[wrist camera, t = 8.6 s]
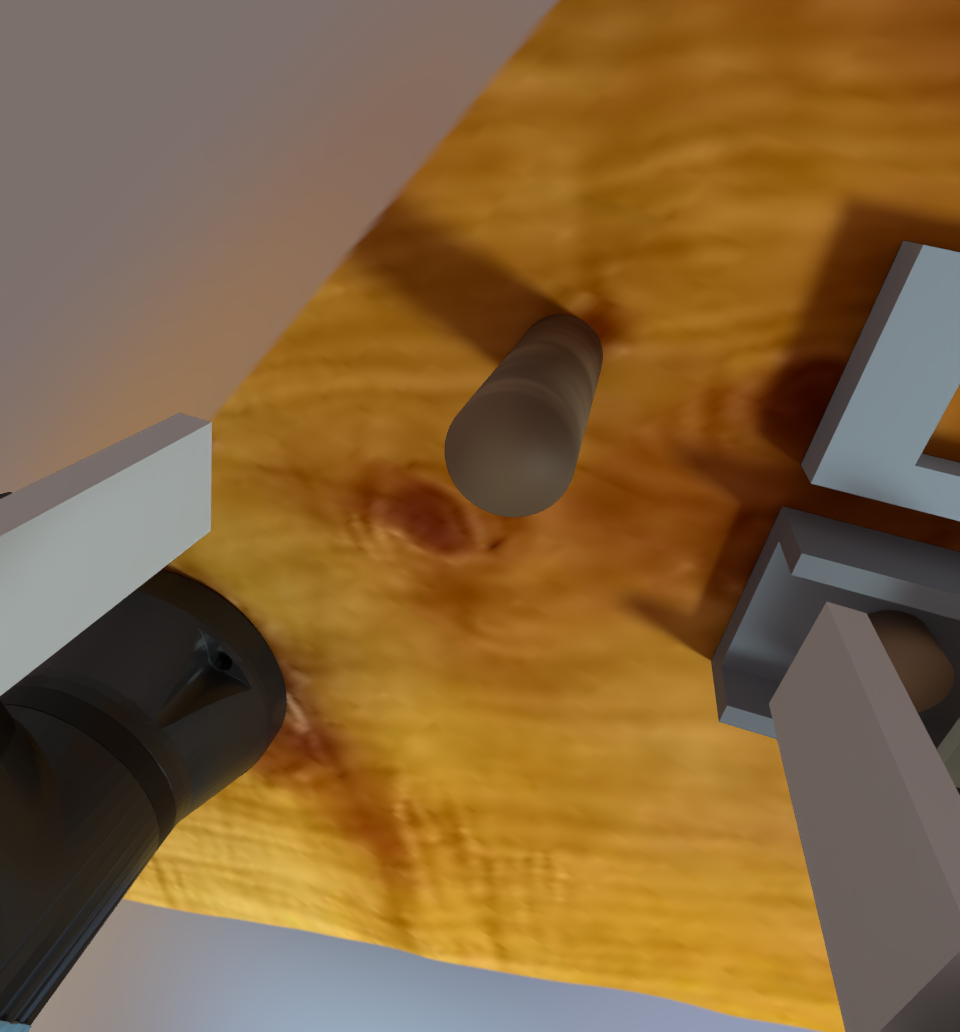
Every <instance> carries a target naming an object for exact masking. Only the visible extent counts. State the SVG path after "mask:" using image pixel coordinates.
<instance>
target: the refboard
mask: <svg viewBox="0 0 960 1032" xmlns="http://www.w3.org/2000/svg"><path fill="white" fill-rule="evenodd" d="M826 602H830V603H833V604H837V605H840V606H843V607H847V608H850V609H854V610H857V611H861V612H864V613H867V615H868V617H869V619H870V621H871V623H872V625H873V627H874V629H875V631H876V633H877V635H878V637H879V639H880V641H881V643H882V644H883V646H884V648H885V650H886V652H887V654H888V656H889V658H890V660H891V662H892V664H893V666H894V668H895V670H896V672H897V674H898V676H899V678H900V680H901V682H902V683H903V685H904V687H905V689H906V691H907V693H908V695H909V697H910V699H911V701H912V703H913V705H914V707H915V709H916V711H917V713H918V715H919V717H920V719H921V721H922V722H923V724H924V726H925V728H926V730H927V732H928V734H929V736H930V738H931V740H932V742H933V744H934V746H935V748H936V749H937V748H938V746H939V745H940V744H941V742H942V741H943V740H944V738H945V737H946V736H947V734H948V733H949V731H950V730H951V729H952V727H953V726H954V725H955V723H956V722H957V720H958V719H959V718H960V552H958V551H954V550H950V549H946V548H942V547H938V546H934V545H931V544H927V543H923V542H919V541H915V540H911V539H907V538H904V537H900V536H896V535H892V534H888V533H884V532H880V531H877V530H873V529H869V528H865V527H861V526H857V525H853V524H850V523H846V522H842V521H838V520H834V519H830V518H826V517H823V516H819V515H815V514H811V513H807V512H803V511H799V510H795V509H792V508H788V507H784V506H782V507H781V510H780V512H779V514H778V516H777V518H776V521H775V523H774V525H773V527H772V529H771V532H770V534H769V536H768V538H767V540H766V543H765V545H764V547H763V549H762V551H761V553H760V556H759V558H758V560H757V562H756V564H755V567H754V569H753V571H752V573H751V575H750V578H749V580H748V582H747V584H746V586H745V589H744V591H743V593H742V595H741V597H740V600H739V602H738V604H737V606H736V608H735V610H734V613H733V615H732V617H731V619H730V621H729V624H728V626H727V628H726V630H725V632H724V635H723V637H722V639H721V641H720V643H719V646H718V648H717V650H716V652H715V654H714V657H713V659H712V661H711V664H712V672H713V679H714V687H715V695H716V702H717V710H718V718H719V722H721V723H725V724H728V725H731V726H735V727H738V728H742V729H745V730H748V731H752V732H755V733H758V734H762V735H765V736H768V737H772V738H775V739H777V736H776V732H775V728H774V723H773V719H772V715H771V711H770V706H769V703H770V701H771V699H772V697H773V696H774V694H775V692H776V690H777V689H778V687H779V685H780V683H781V681H782V680H783V678H784V676H785V674H786V673H787V671H788V669H789V667H790V666H791V664H792V662H793V660H794V658H795V657H796V655H797V653H798V651H799V650H800V648H801V646H802V644H803V643H804V641H805V639H806V637H807V635H808V634H809V632H810V630H811V628H812V627H813V625H814V623H815V621H816V620H817V618H818V616H819V614H820V612H821V611H822V609H823V607H824V605H825V604H826Z"/></svg>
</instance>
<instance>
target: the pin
mask: <svg viewBox="0 0 960 1032" xmlns="http://www.w3.org/2000/svg"><path fill="white" fill-rule="evenodd" d="M602 361H603V352H602V346H601V343H600V340H599V338H598V336H597V334H596V333H595V332H594V330H593V329H592V328H591V327H590V326H589V325H588V324H587V323H585V322H584V321H582V320H581V319H578V318H576V317H573V316H570V315H552V316H548V317H546V318H543V319H541V320H539V321H538V322H536V323H535V324H534V325H533V326H532V327H531V328H530V329H529V330H528V331H527V332H526V333H525V335H524V336H523V337H522V338H521V339H520V341H519V342H518V343H517V344H516V345H515V346H514V348H513V349H512V350H511V351H510V352H509V354H508V355H507V356H506V357H505V358H504V360H503V361H502V362H501V363H500V364H499V366H498V367H497V368H496V369H495V370H494V371H493V373H492V374H491V375H490V376H489V377H488V379H487V380H486V381H485V382H484V383H483V385H482V386H481V387H480V388H479V389H478V390H477V392H476V393H475V394H474V395H473V396H472V398H471V399H470V400H469V401H468V402H467V404H466V405H465V406H464V407H463V408H462V410H461V411H460V412H459V413H458V414H457V416H456V417H455V418H454V420H453V422H452V423H451V425H450V428H449V430H448V433H447V436H446V441H445V460H446V465H447V468H448V472H449V474H450V476H451V479H452V481H453V482H454V484H455V485H456V487H457V488H458V490H459V491H460V492H461V493H462V494H463V495H464V496H465V497H466V498H467V499H468V500H469V501H470V502H472V503H473V504H474V505H476V506H477V507H479V508H481V509H483V510H485V511H487V512H490V513H493V514H496V515H500V516H506V517H522V516H529V515H532V514H536V513H538V512H541V511H543V510H545V509H547V508H548V507H550V506H551V505H553V504H554V503H555V502H556V501H557V500H558V499H559V498H560V497H561V496H562V495H563V494H564V492H565V491H566V490H567V488H568V486H569V484H570V482H571V480H572V477H573V474H574V470H575V466H576V462H577V459H578V455H579V451H580V447H581V443H582V439H583V436H584V432H585V428H586V424H587V420H588V416H589V413H590V409H591V405H592V401H593V397H594V394H595V390H596V386H597V382H598V378H599V374H600V371H601V367H602Z"/></svg>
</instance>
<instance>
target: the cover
mask: <svg viewBox="0 0 960 1032" xmlns="http://www.w3.org/2000/svg"><path fill="white" fill-rule="evenodd" d="M936 750H937V752H938V754H939V756H940V758H941V760H942V761H943V763H944V765H945V767H946V769H947V771H948V773H949V775H950V777H951V779H952V781H953V783H954V785H955V787H958V788H960V718H959V719H958V720H957V722H956V723H955V725H954V726H953V727H952V729H951V730H950V731H949V733H948V734H947V736H946V737H945V738H944V740H943V741H942V742H941V744H940V745H939V746H938V748H937V749H936Z"/></svg>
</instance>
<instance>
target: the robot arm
mask: <svg viewBox="0 0 960 1032" xmlns="http://www.w3.org/2000/svg"><path fill="white" fill-rule="evenodd" d="M211 446H212V422H209V421H206V420H202V419H199V418H196V417H192V416H188V415H185V414H182V413H178V414H176V415H174V416H172V417H170V418H168V419H165V420H163V421H161V422H159V423H157V424H155V425H153V426H151V427H149V428H147V429H145V430H143V431H141V432H139V433H136V434H134V435H132V436H130V437H128V438H126V439H124V440H122V441H120V442H118V443H116V444H114V445H112V446H110V447H108V448H105V449H103V450H101V451H99V452H97V453H95V454H93V455H91V456H89V457H87V458H85V459H82V460H80V461H78V462H76V463H74V464H72V465H70V466H68V467H66V468H64V469H62V470H60V471H58V472H56V473H53V474H51V475H49V476H47V477H45V478H43V479H41V480H39V481H37V482H35V483H33V484H31V485H29V486H27V487H25V488H22V489H20V490H18V491H16V492H14V493H12V492H7V493H4V494H0V1032H28V1031H29V1029H30V1028H31V1024H32V1023H33V1021H34V1020H35V1018H36V1017H37V1016H38V1014H39V1013H40V1012H41V1010H42V1008H43V1007H44V1006H45V1005H46V1003H47V1002H48V1000H49V999H50V998H51V996H52V995H53V994H54V992H55V991H56V989H57V988H58V986H59V985H60V984H61V982H62V981H63V980H64V978H65V977H66V975H67V974H68V973H69V971H70V970H71V969H72V967H73V966H74V964H75V963H76V962H77V960H78V959H79V958H80V956H81V955H82V953H83V952H84V950H85V949H86V948H87V946H88V945H89V944H90V942H91V941H92V940H93V938H94V937H95V935H96V934H97V933H98V931H99V930H100V928H101V927H102V926H103V924H104V923H105V921H106V920H107V918H108V917H109V916H110V915H111V913H112V912H113V911H114V909H115V907H116V906H117V905H118V903H119V902H120V901H121V899H122V898H123V897H124V895H125V894H126V893H127V891H128V890H129V888H130V887H131V886H132V884H133V883H134V881H135V880H136V879H137V877H138V876H139V875H140V873H141V872H142V870H143V869H144V868H145V866H146V865H147V863H148V862H149V861H150V859H151V858H152V857H153V855H154V853H155V852H156V851H157V849H158V848H159V847H160V845H161V844H162V843H163V841H164V840H165V839H166V837H167V836H168V835H169V833H170V832H171V831H172V829H173V828H174V827H175V826H176V824H177V823H178V822H179V821H181V820H182V819H183V818H185V817H186V816H187V815H189V814H190V813H191V812H193V811H194V810H196V809H197V808H198V807H200V806H201V805H202V804H204V803H205V802H206V801H208V800H209V799H210V798H212V797H213V796H215V795H216V794H217V793H219V792H220V791H221V790H223V789H224V788H225V787H227V786H228V785H229V784H230V783H232V782H233V781H234V780H236V779H237V778H238V777H240V776H241V775H243V774H244V773H245V772H247V771H248V770H249V769H250V768H252V767H253V766H254V765H255V764H256V762H257V761H258V760H259V759H260V758H261V757H262V755H263V754H264V753H265V751H266V750H267V748H268V747H269V745H270V744H271V742H272V741H273V739H274V738H275V736H276V735H277V733H278V732H279V730H280V728H281V726H282V724H283V721H284V717H285V713H286V690H285V684H284V680H283V677H282V674H281V671H280V668H279V666H278V663H277V661H276V659H275V657H274V655H273V653H272V652H271V650H270V648H269V646H268V645H267V643H266V642H265V640H264V639H263V638H262V636H261V635H260V634H259V632H258V631H257V630H256V629H255V628H254V626H253V625H252V624H251V623H250V622H249V621H248V620H247V619H246V618H245V617H244V616H243V615H242V614H241V613H240V612H239V611H238V610H236V609H235V608H234V607H233V606H232V605H231V604H229V603H228V602H227V601H225V600H224V599H223V598H221V597H220V596H218V595H217V594H215V593H214V592H212V591H210V590H209V589H207V588H205V587H203V586H202V585H200V584H198V583H196V582H194V581H191V580H189V579H187V578H184V577H182V576H179V575H176V574H173V573H169V572H166V571H161V569H163V568H164V567H165V566H166V565H168V564H169V563H170V562H171V561H173V560H174V559H175V558H177V557H178V556H179V555H180V554H182V553H183V552H184V551H185V550H187V549H188V548H189V547H191V546H192V545H193V544H194V543H196V542H197V541H198V540H199V539H201V538H202V537H203V536H205V535H206V534H207V533H208V532H210V531H211ZM769 706H770V711H771V715H772V719H773V723H774V728H775V732H776V736H777V741H778V745H779V749H780V753H781V758H782V762H783V766H784V770H785V775H786V779H787V783H788V787H789V792H790V796H791V800H792V805H793V809H794V813H795V817H796V822H797V826H798V830H799V834H800V839H801V843H802V847H803V852H804V856H805V860H806V864H807V869H808V873H809V877H810V881H811V886H812V890H813V894H814V899H815V903H816V907H817V911H818V916H819V920H820V924H821V928H822V933H823V937H824V941H825V946H826V950H827V954H828V958H829V963H830V967H831V971H832V975H833V980H834V984H835V988H836V992H837V997H838V1001H839V1005H840V1010H841V1014H842V1018H843V1022H844V1027H845V1031H846V1032H960V788H958V787H955V785H954V783H953V781H952V779H951V777H950V775H949V773H948V771H947V769H946V767H945V765H944V763H943V761H942V760H941V758H940V756H939V754H938V752H937V750H936V748H935V746H934V744H933V742H932V740H931V738H930V736H929V734H928V732H927V730H926V728H925V726H924V724H923V722H922V721H921V719H920V717H919V715H918V713H917V711H916V709H915V707H914V705H913V703H912V701H911V699H910V697H909V695H908V693H907V691H906V689H905V687H904V685H903V683H902V682H901V680H900V678H899V676H898V674H897V672H896V670H895V668H894V666H893V664H892V662H891V660H890V658H889V656H888V654H887V652H886V650H885V648H884V646H883V644H882V643H881V641H880V639H879V637H878V635H877V633H876V631H875V629H874V627H873V625H872V623H871V621H870V619H869V617H868V615H867V613H864V612H861V611H857V610H854V609H850V608H847V607H843V606H840V605H837V604H833V603H830V602H826V604H825V605H824V607H823V609H822V611H821V612H820V614H819V616H818V618H817V620H816V621H815V623H814V625H813V627H812V628H811V630H810V632H809V634H808V635H807V637H806V639H805V641H804V643H803V644H802V646H801V648H800V650H799V651H798V653H797V655H796V657H795V658H794V660H793V662H792V664H791V666H790V667H789V669H788V671H787V673H786V674H785V676H784V678H783V680H782V681H781V683H780V685H779V687H778V689H777V690H776V692H775V694H774V696H773V697H772V699H771V701H770V703H769Z"/></svg>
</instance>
